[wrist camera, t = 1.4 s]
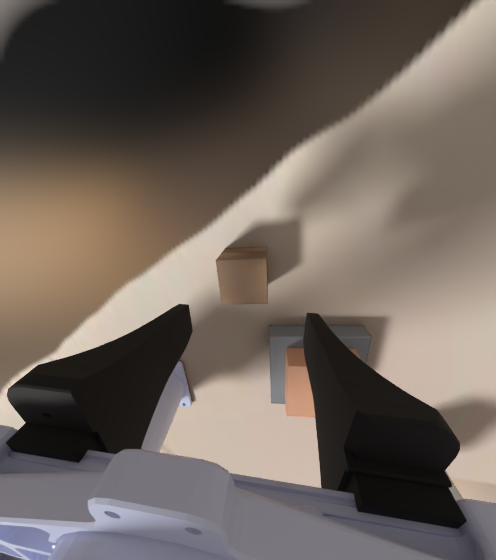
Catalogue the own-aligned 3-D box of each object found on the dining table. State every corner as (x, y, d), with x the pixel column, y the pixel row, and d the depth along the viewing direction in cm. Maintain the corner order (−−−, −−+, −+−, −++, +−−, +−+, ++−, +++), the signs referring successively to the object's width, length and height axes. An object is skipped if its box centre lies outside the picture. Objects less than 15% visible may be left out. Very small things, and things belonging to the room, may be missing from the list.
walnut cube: (229, 285, 22) (221, 304, 18) (225, 248, 20) (215, 260, 17) (267, 284, 21) (267, 303, 18) (266, 246, 20) (266, 258, 16)
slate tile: (270, 385, 28) (271, 403, 25) (269, 322, 24) (269, 336, 22) (349, 387, 27) (357, 406, 24) (360, 322, 23) (371, 336, 20)
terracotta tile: (284, 395, 25) (286, 415, 22) (285, 348, 22) (288, 366, 20) (346, 397, 24) (354, 419, 22) (355, 348, 21) (366, 367, 19)
